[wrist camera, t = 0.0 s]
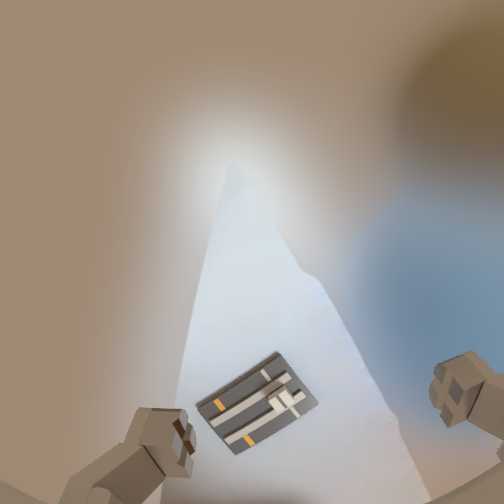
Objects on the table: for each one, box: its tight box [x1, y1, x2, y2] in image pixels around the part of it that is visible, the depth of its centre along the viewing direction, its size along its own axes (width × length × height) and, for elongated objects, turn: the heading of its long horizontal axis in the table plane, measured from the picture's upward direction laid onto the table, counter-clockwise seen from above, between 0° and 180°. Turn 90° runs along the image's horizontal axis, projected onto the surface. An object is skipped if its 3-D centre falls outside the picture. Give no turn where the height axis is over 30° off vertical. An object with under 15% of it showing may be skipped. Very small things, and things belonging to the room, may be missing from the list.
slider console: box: [197, 354, 318, 455], centre depth 56 cm, size 14×22×3 cm, turn 126°
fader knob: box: [268, 385, 295, 413], centre depth 53 cm, size 3×4×5 cm
